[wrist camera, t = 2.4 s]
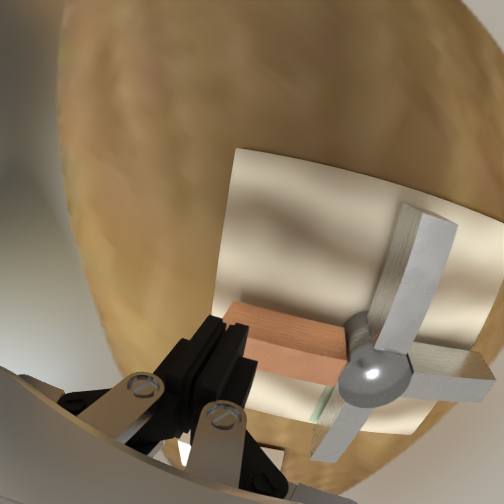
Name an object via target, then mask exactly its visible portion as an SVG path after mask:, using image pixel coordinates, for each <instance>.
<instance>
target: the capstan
mask: <svg viewBox="0 0 504 504" xmlns="http://www.w3.org/2000/svg"><path fill="white" fill-rule="evenodd" d="M457 228H458V224H456V223H454V222H452V221H450V220H448V219H447V218H445V217H443V216H441V215H439V214H437V213H435V212H433V211H430V210H427V209H424V208H420V207H417V206H414V205H411V204H408V203H404V202H403V204H402V208H401V212H400V216H399V219H398V223H397V227H396V230H395V234H394V237H393V241H392V244H391V247H390V251H389V254H388V257H387V260H386V263H385V266H384V269H383V272H382V275H381V278H380V281H379V284H378V287H377V290H376V292H375V295H374V298H373V301H372V303H371V306H370V309H369V311H368V312H362V313H359V314H357V315H355V316H353V317H351V318H350V319H349V320H347V321H346V322H345V323H344V324H343V326H342V327H339V326H334V325H330V324H326V323H321V322H317V321H313V320H308V319H304V318H300V317H296V316H292V315H288V314H284V313H280V312H276V311H272V310H268V309H264V308H260V307H257V306H253V305H249V304H245V303H242V302H238V301H233V302H232V304H231V305H230V307H229V308H228V310H227V312H226V313H225V315H224V316H223V318H222V319H223V322H224V323H227V327H226V330H227V329H228V327H229V325H230V324H231V325H235V323H236V322H237V323H240V324H244V325H248V326H249V332H248V336H247V341H246V346H245V351H244V355H243V357H245V358H249V359H252V360H256V361H258V365H257V369H258V370H262V371H266V372H269V373H273V374H277V375H281V376H285V377H290V378H294V379H298V380H303V381H307V382H312V383H317V384H321V385H326V386H332V387H335V388H334V390H333V392H332V394H331V396H330V398H329V400H328V402H327V404H326V406H325V408H324V410H323V412H322V414H321V415H320V417H319V419H318V421H317V423H316V425H315V426H314V428H313V436H312V445H311V453H310V460H314V461H321V462H328V463H335V462H336V461H337V460H338V458H339V457H340V456H341V455H342V453H343V452H344V451H345V450H346V448H347V447H348V446H349V444H350V443H351V442H352V440H353V439H354V438H355V436H356V435H357V434H358V432H359V431H360V429H361V428H362V427H363V425H364V424H365V422H366V421H367V419H368V418H369V416H370V415H371V413H372V412H373V410H374V409H375V408H376V407H380V406H384V405H386V404H389V403H391V402H393V401H394V400H396V399H397V398H399V397H404V398H413V399H424V400H437V401H453V402H481V401H482V400H483V399H484V397H485V396H486V395H487V393H488V392H489V390H490V389H491V387H492V386H493V385H494V383H495V382H496V379H495V377H494V375H493V373H492V372H491V370H490V368H489V367H488V365H487V363H486V362H485V360H484V358H483V357H482V355H481V354H480V352H474V351H467V350H460V349H454V348H448V347H441V346H435V345H430V344H424V343H418V342H413V341H414V339H415V337H416V335H417V333H418V331H419V329H420V326H421V324H422V322H423V320H424V318H425V316H426V313H427V311H428V309H429V306H430V304H431V302H432V299H433V297H434V295H435V292H436V290H437V287H438V284H439V282H440V279H441V277H442V274H443V271H444V268H445V266H446V263H447V260H448V257H449V254H450V251H451V248H452V245H453V242H454V238H455V235H456V232H457ZM337 381H338V382H337ZM336 383H337V384H336ZM335 385H336V386H335Z"/></svg>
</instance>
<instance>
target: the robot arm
mask: <svg viewBox="0 0 504 504" xmlns="http://www.w3.org/2000/svg"><path fill="white" fill-rule="evenodd" d="M226 327H227V323H224V322H223V319H222V318H219V317H216V316H213V315H209V316H208V317H207V318H206V320H205V321H204V322H203V324H202V325H201V326H200V328H199V329H198V330H197V332H196V333H195V334H194V336H193V337H192V338H191V340H187V339H184V338H182V339H181V340H180V341H179V342H178V343H177V344H176V345H175V347H174V348H173V349H172V350H171V352H170V353H169V354H168V355H167V357H166V358H165V359H164V360H163V361H162V363H161V364H160V365H159V366H158V368H157V369H156V370H155V371H154V373H153V374H151V373H147V372H136V373H132V374H130V375H129V376H127V377H126V378H125V379H123V380H122V381H121V382H120V383H118V384H117V385H116V386H114V387H113V388H110V389H103V390H93V391H82V392H72V393H67V394H65V392H64V390H62V389H59V388H57V387H54V386H52V385H49V384H47V383H45V382H42V381H40V380H38V379H35V378H33V377H31V376H29V375H25V374H20V375H16V374H15V373H13V372H11V371H10V370H8V369H6V368H4V367H2V366H0V504H358V503H356V502H355V501H353V500H351V499H348V498H344V497H341V496H337V495H334V494H331V493H327V492H324V491H321V490H318V489H315V488H312V487H309V486H306V485H303V484H301V483H299V484H298V485H296V484H293V483H291V482H288V481H287V479H286V478H285V476H284V475H283V474H282V473H281V472H280V470H279V469H278V468H277V467H276V466H275V465H274V463H273V462H272V461H271V460H270V459H269V457H268V456H267V455H266V454H265V452H264V451H263V450H262V449H261V447H260V446H259V445H258V444H257V442H256V441H255V440H254V439H253V437H252V436H251V435H250V433H249V432H248V431H247V430H246V423H247V417H246V414H245V412H244V407H245V404H246V402H247V399H248V396H249V393H250V390H251V387H252V384H253V380H254V377H255V373H256V369H257V365H258V361H256V360H252V359H249V358H245V357H243V355H244V351H245V346H246V341H247V336H248V332H249V326H248V325H244V324H240V323H237V322H236V323H235V325H231V324H230V325H229V327H228V329H227V330H226ZM190 429H191V431H190ZM189 431H190V446H191V450H190V453H189V457H188V460H187V464H186V467H185V471H182V470H179V469H177V468H174V467H172V466H170V465H167V464H165V463H162V462H160V461H158V460H155V459H153V457H154V456H155V455H156V454H157V452H158V451H159V450H160V449H161V448H162V447H163V446H164V444H165V442H166V440H167V439H171V438H174V437H176V438H179V439H180V437H181V436H182V434H183V433H186V434H188V433H189Z"/></svg>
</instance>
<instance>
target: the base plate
mask: <svg viewBox="0 0 504 504" xmlns="http://www.w3.org/2000/svg"><path fill="white" fill-rule="evenodd" d="M403 202H404V203H408V204H411V205H414V206H417V207H420V208H424V209H427V210H430V211H433V212H435V213H437V214H439V215H441V216H443V217H445V218H447V219H448V220H450V221H452V222H454V223H456V224H458V228H457V232H456V235H455V238H454V242H453V245H452V248H451V251H450V254H449V257H448V260H447V263H446V266H445V268H444V271H443V274H442V277H441V279H440V282H439V284H438V287H437V290H436V292H435V295H434V297H433V299H432V302H431V304H430V306H429V309H428V311H427V313H426V316H425V318H424V320H423V322H422V324H421V326H420V329H419V331H418V333H417V335H416V337H415V339H414V341H413V342H418V343H424V344H430V345H435V346H441V347H448V348H454V349H460V350H467V351H470V349H471V347H472V346H473V344H474V342H475V340H476V338H477V336H478V334H479V332H480V331H481V329H482V327H483V325H484V323H485V320H486V318H487V316H488V314H489V312H490V310H491V308H492V305H493V303H494V301H495V299H496V296H497V294H498V291H499V289H500V287H501V284H502V281H503V279H504V223H501V222H499V221H497V220H495V219H492V218H490V217H487V216H485V215H483V214H480V213H478V212H475V211H473V210H470V209H468V208H465V207H462V206H460V205H457V204H454V203H452V202H449V201H446V200H443V199H441V198H438V197H435V196H432V195H429V194H426V193H423V192H420V191H417V190H414V189H411V188H408V187H405V186H401V185H398V184H395V183H392V182H388V181H385V180H381V179H378V178H374V177H371V176H367V175H363V174H360V173H356V172H352V171H348V170H344V169H340V168H336V167H332V166H328V165H323V164H319V163H314V162H310V161H305V160H301V159H296V158H291V157H286V156H281V155H275V154H270V153H264V152H259V151H253V150H247V149H240V148H236V151H235V156H234V162H233V168H232V175H231V181H230V187H229V193H228V200H227V206H226V213H225V219H224V226H223V233H222V240H221V247H220V254H219V261H218V268H217V276H216V283H215V291H214V299H213V307H212V315H213V316H216V317H219V318H223V316H224V315H225V313H226V312H227V310H228V308H229V307H230V305H231V304H232V302H233V301H238V302H242V303H245V304H249V305H253V306H257V307H260V308H264V309H268V310H272V311H276V312H280V313H284V314H288V315H292V316H296V317H300V318H304V319H308V320H313V321H317V322H321V323H326V324H330V325H334V326H339V327H342V326H343V324H344V323H345V322H346V321H347V320H349V319H350V318H351V317H353V316H355V315H357V314H359V313H362V312H368V311H369V309H370V306H371V303H372V301H373V298H374V295H375V292H376V290H377V287H378V284H379V281H380V278H381V275H382V272H383V269H384V266H385V263H386V260H387V257H388V254H389V251H390V247H391V244H392V241H393V237H394V234H395V230H396V227H397V223H398V219H399V216H400V212H401V208H402V204H403ZM337 382H338V381H337ZM336 384H337V383H336ZM335 386H336V385H335ZM334 388H335V387H332V386H326V385H321V384H317V383H312V382H307V381H303V380H298V379H294V378H290V377H285V376H281V375H277V374H273V373H269V372H266V371H262V370H258V369H256V373H255V377H254V380H253V384H252V387H251V390H250V393H249V396H248V399H247V402H246V404H245V407H246V408H249V409H253V410H257V411H261V412H265V413H269V414H273V415H277V416H281V417H285V418H290V419H295V420H299V421H304V422H309V423H315V424H316V423H317V421H318V419H319V417H320V415H321V414H322V412H323V410H324V408H325V406H326V404H327V402H328V400H329V398H330V396H331V394H332V392H333V390H334ZM436 402H437V400H424V399H413V398H404V397H399V398H397V399H396V400H394V401H393V402H391V403H389V404H386V405H384V406H380V407H376V408H375V409H374V410H373V412H372V413H371V415H370V416H369V418H368V419H367V421H366V422H365V424H364V425H363V427H362V428H361V429H360V430H361V431H369V432H380V433H392V434H408V435H411V434H412V433H413V432H414V431H415V430H416V428H417V427H418V426H419V425H420V423H421V422H422V421H423V420H424V418H425V417H426V416H427V415H428V413H429V412H430V411H431V409H432V408H433V407H434V405H435V404H436Z"/></svg>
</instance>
